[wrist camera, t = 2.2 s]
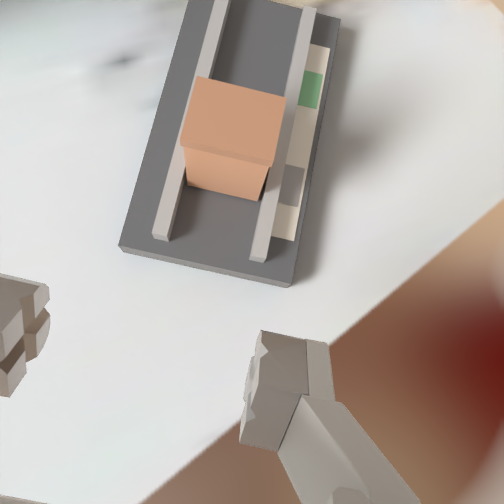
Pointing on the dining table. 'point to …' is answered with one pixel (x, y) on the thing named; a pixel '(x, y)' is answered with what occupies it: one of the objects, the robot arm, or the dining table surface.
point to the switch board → (287, 151)
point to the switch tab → (230, 137)
